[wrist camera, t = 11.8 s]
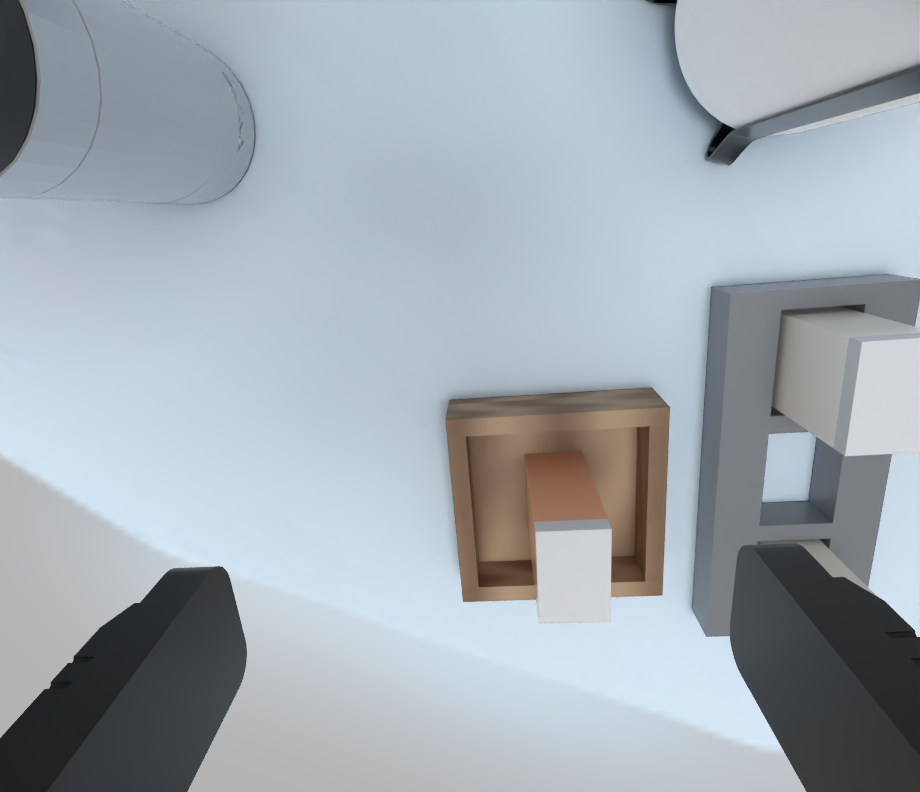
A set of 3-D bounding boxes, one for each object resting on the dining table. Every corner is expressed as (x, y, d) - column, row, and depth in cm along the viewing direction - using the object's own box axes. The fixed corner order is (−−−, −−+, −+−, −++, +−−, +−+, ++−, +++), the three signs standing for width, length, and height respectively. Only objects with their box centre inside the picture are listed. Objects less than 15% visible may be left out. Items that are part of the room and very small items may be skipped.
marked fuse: (582, 525, 40) (610, 621, 31) (527, 527, 41) (538, 623, 31) (581, 451, 38) (611, 529, 29) (524, 453, 39) (535, 531, 29)
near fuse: (816, 391, 37) (927, 451, 28) (755, 395, 38) (845, 456, 28) (827, 303, 35) (950, 335, 26) (763, 307, 36) (861, 341, 26)
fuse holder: (835, 604, 42) (859, 632, 40) (691, 608, 43) (706, 636, 40) (887, 274, 35) (923, 279, 32) (711, 286, 35) (730, 293, 33)
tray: (465, 567, 43) (463, 601, 39) (449, 399, 39) (445, 420, 35) (646, 560, 42) (662, 595, 38) (651, 387, 38) (669, 407, 34)
